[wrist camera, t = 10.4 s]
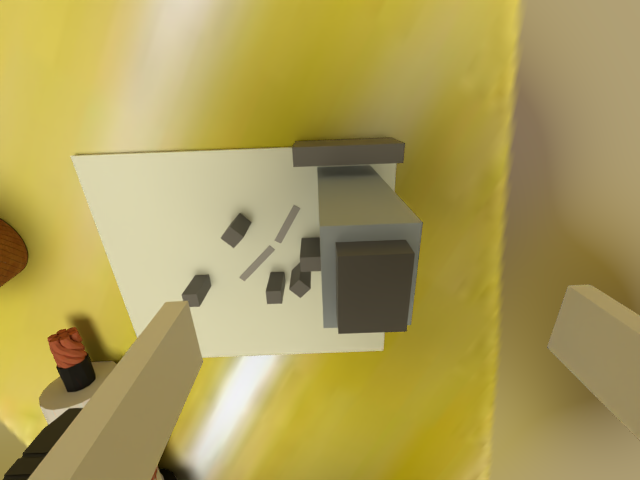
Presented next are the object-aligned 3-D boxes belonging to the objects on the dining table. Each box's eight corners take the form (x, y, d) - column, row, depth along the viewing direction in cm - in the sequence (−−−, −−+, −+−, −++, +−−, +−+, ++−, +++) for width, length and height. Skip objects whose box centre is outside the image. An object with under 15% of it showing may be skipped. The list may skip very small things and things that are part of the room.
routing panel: (382, 346, 31) (391, 379, 27) (147, 355, 31) (125, 389, 27) (396, 136, 22) (412, 142, 19) (73, 148, 22) (25, 157, 19)
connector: (368, 226, 25) (419, 343, 13) (319, 228, 25) (324, 347, 13) (370, 165, 23) (434, 234, 11) (317, 167, 23) (320, 239, 11)
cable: (132, 295, 33) (124, 346, 24) (191, 503, 44) (200, 589, 35) (10, 324, 29) (-52, 398, 20) (109, 547, 39) (96, 658, 31)
